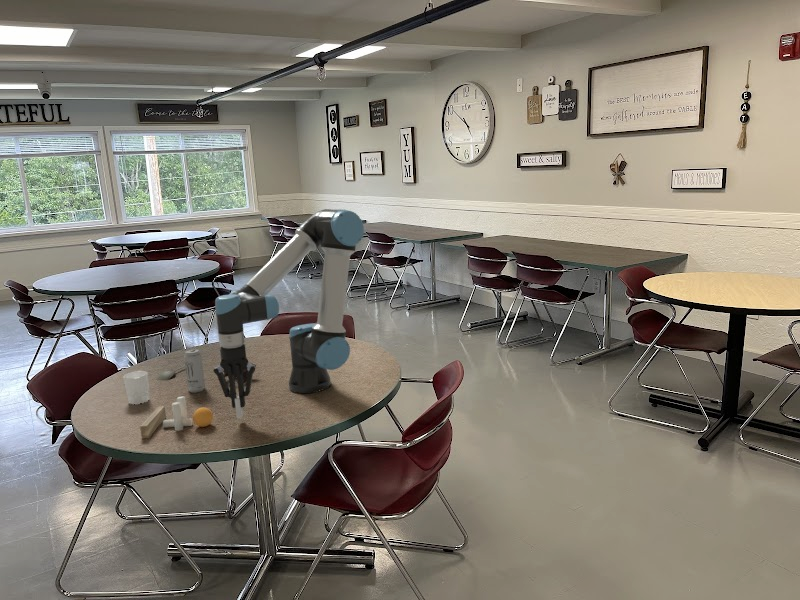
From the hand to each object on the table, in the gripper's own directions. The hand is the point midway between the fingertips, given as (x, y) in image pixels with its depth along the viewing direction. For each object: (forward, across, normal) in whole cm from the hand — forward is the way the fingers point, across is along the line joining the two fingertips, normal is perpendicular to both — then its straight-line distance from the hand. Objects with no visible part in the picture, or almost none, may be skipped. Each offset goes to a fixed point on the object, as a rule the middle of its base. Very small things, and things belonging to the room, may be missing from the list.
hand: (240, 416), depth 191 cm
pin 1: (+2, -18, +2) cm, 19 cm away
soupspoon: (+3, -37, +57) cm, 68 cm away
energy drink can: (+2, -23, +33) cm, 40 cm away
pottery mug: (+2, -9, +41) cm, 42 cm away
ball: (-1, -11, -1) cm, 11 cm away
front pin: (+1, -15, 0) cm, 15 cm away
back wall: (+2, -27, 0) cm, 27 cm away
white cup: (+2, -41, +25) cm, 48 cm away
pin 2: (+2, -18, -2) cm, 19 cm away
